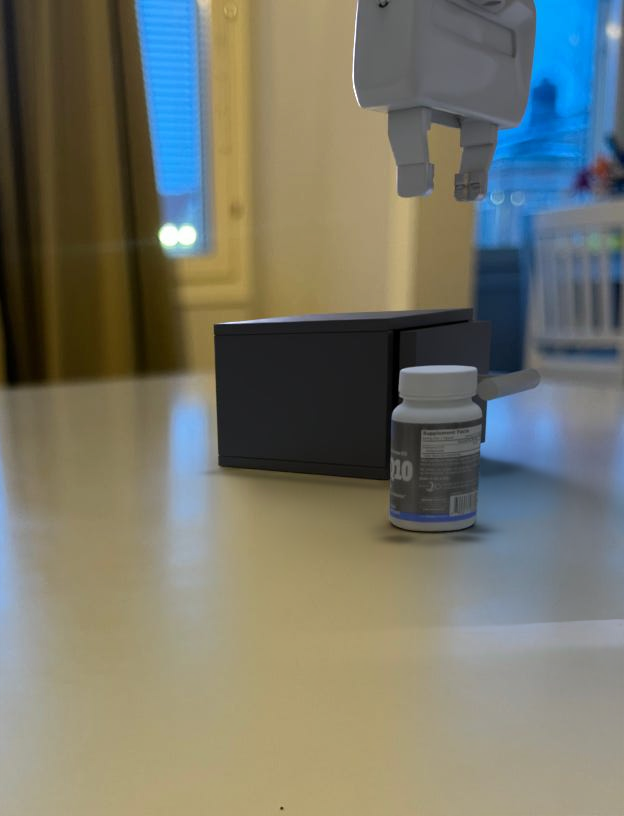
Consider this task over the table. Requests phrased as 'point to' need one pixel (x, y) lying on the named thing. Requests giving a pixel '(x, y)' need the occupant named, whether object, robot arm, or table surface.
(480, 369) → the drawer
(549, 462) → the table surface
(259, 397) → the cabinet
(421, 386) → the pill bottle
